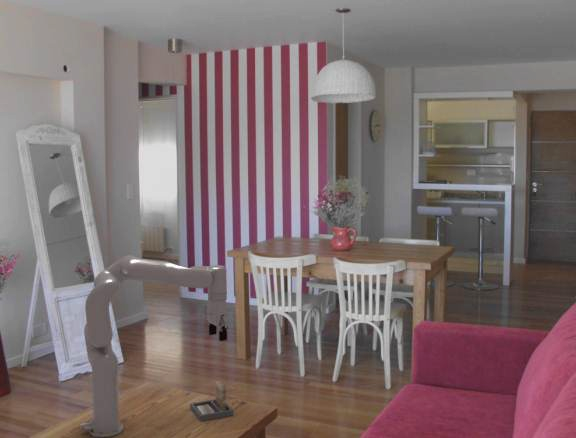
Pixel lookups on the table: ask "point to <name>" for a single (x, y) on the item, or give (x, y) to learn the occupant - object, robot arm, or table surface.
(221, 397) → the birch sheet
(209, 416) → the rack
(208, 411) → the offcut upper
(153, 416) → the table surface
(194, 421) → the table surface
